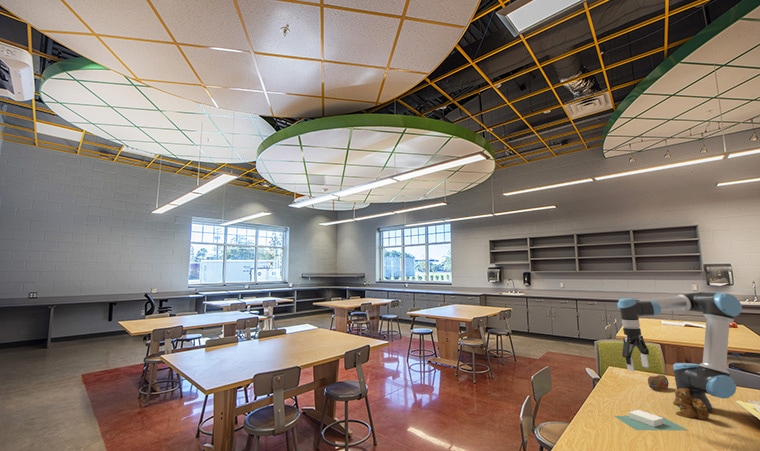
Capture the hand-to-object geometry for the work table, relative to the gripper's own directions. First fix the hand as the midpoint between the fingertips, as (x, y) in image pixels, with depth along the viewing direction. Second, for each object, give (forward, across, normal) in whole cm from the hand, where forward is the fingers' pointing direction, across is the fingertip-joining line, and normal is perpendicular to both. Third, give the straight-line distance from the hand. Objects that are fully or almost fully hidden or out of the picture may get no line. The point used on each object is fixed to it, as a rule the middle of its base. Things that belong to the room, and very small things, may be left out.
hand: (638, 368), depth 169 cm
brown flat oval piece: (+25, -57, -21) cm, 65 cm away
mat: (+24, +7, +4) cm, 25 cm away
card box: (+22, +6, -2) cm, 23 cm away
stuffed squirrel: (+25, -23, +10) cm, 35 cm away
